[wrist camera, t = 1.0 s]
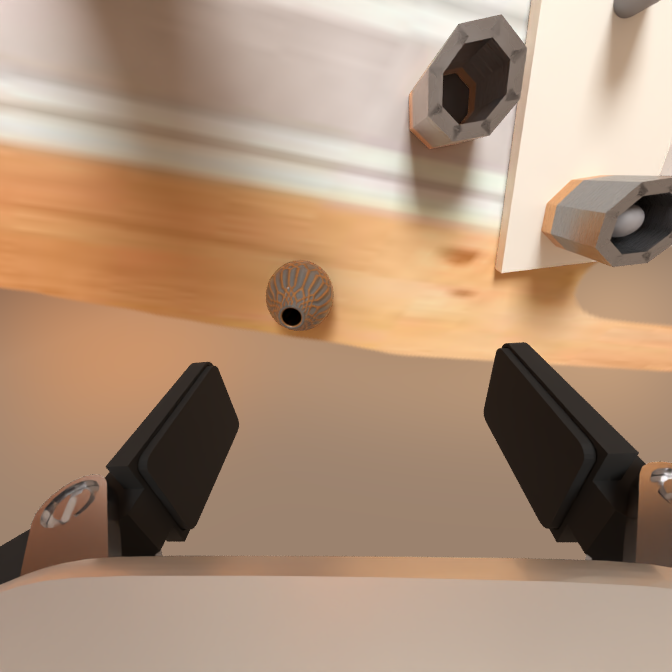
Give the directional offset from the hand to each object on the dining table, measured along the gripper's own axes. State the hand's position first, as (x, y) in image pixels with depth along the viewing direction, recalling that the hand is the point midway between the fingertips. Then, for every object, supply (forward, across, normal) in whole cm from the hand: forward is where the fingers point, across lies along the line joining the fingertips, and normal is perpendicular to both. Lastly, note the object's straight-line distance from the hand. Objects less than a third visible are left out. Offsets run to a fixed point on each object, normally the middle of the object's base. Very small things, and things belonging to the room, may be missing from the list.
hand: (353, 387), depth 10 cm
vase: (+24, +6, +4) cm, 25 cm away
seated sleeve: (+22, -21, -1) cm, 30 cm away
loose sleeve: (+24, -9, -10) cm, 27 cm away
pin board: (+23, -21, -8) cm, 32 cm away
